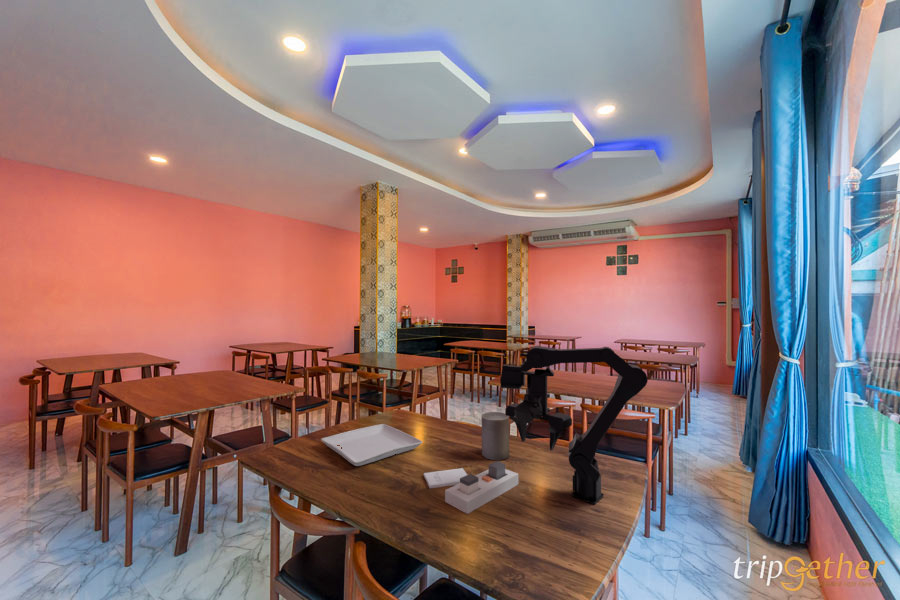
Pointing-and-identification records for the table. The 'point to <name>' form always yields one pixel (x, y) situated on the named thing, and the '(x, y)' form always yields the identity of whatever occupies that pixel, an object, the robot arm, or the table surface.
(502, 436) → the pillar candle
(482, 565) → the table surface
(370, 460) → the square plate
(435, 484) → the external hard drive
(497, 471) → the charcoal plug
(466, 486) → the cream plug
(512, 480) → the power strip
